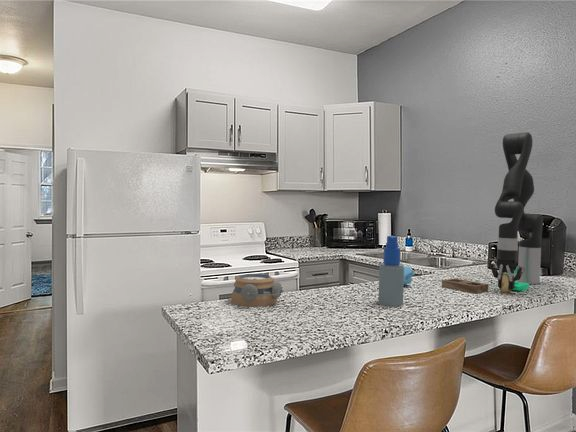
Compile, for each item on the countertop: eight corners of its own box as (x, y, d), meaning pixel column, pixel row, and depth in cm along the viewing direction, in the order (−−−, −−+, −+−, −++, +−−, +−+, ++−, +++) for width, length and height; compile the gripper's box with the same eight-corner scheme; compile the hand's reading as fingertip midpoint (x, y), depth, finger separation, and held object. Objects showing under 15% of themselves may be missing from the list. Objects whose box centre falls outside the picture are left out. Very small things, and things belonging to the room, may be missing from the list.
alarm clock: (265, 271, 166) (293, 281, 146) (265, 294, 167) (293, 308, 146) (224, 274, 158) (248, 285, 138) (224, 298, 159) (248, 313, 138)
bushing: (503, 291, 180) (504, 273, 180) (512, 293, 177) (513, 274, 177) (499, 292, 178) (500, 273, 178) (508, 294, 175) (508, 275, 175)
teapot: (422, 286, 188) (423, 264, 187) (402, 290, 179) (403, 266, 179) (390, 280, 202) (390, 259, 202) (370, 283, 193) (371, 261, 193)
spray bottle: (379, 299, 161) (381, 234, 160) (403, 302, 158) (405, 235, 157) (376, 305, 152) (378, 236, 151) (402, 307, 149) (404, 237, 149)
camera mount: (518, 292, 179) (519, 268, 179) (500, 289, 185) (501, 266, 185) (530, 289, 187) (530, 266, 186) (512, 286, 193) (513, 264, 192)
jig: (454, 284, 193) (454, 278, 193) (488, 291, 181) (488, 284, 180) (441, 287, 188) (441, 280, 187) (475, 293, 175) (475, 286, 174)
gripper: (529, 249, 173) (527, 291, 174) (495, 246, 185) (494, 285, 185) (520, 250, 169) (519, 293, 169) (486, 247, 180) (485, 287, 181)
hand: (505, 289), depth 177 cm, fingers closed on bushing, 3 cm apart
